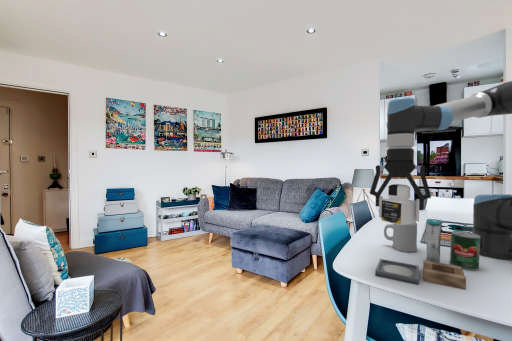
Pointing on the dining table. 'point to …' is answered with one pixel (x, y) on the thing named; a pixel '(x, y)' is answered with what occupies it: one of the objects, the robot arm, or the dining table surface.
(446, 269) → the frame
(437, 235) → the pin
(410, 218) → the medicine bottle
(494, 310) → the dining table surface
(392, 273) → the dock cradle
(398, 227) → the mug
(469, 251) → the canned tomato
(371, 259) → the dining table surface
